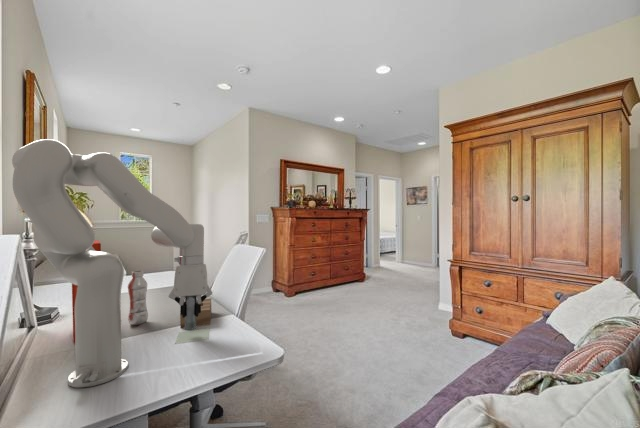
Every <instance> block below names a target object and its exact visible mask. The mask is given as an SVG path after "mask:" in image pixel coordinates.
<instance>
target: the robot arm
mask: <svg viewBox="0 0 640 428" xmlns="http://www.w3.org/2000/svg"><path fill="white" fill-rule="evenodd" d="M11 163H12V166H13V168H14V169H13V174H12V191H13V194H14V197H15V199H16V201H17V203H18V205H19V206H20V208H21V209H22V211H23V212H24V214H25V215H26V216H27V217H28V218H29V220H30V221H31V223H32V224H33V226H35V228H34V231H33V240H34V244H35V246H36V247H37V248H38V250H39V251H40V252H41V253H42V255H43V256H44V257H45V258H46V259H47V260H48V262H49V263H50V265H52V267H54V269H55V270H56V271H57V272H58V273H59V274H60V276H61V277H62V278H63V279H64V280H65V281H66V282H68V283H70V284H71V285H72V284H75V285H78V289H77V295H76V300H75V343H74V345H75V346H74V347H75V348H74V350H75V353H74V354H75V370H74V371H72V372H71V373H70V374H69V375H68V377H67V381H66V382H67V385H68V386H69V387H72V388H79V389H80V388H90V387H94V386H98V385H101V384H104V383H108V382H110V381H112V380H114V379H117V378H118V377H120V376H122V374H123V373H125V372H126V371H127V370H128V368H129V361H128V360H127V359H125V358H122V308H121V304H122V302H121V301H122V287H123V282H124V273H125V272H124V265H123V263H122V261H121V260H120V258H119V257H117V256H116V255H115V254H112V253H110V252H107V251H102V250H101V251H95V250H94V248H93V247H92V245H93V243H94V241H96V240H95V239H96V234H95V230H94V228H93V227H92V225H91V224H90V223H89V222H88V221H87V220H86V217H84V215H83V213H81V211H80V210H79V209H78V207H77V205H75V203H74V202H73V200H72V198H71V197H70V196H69V193H68V192H67V190H66V187H65V186H66V185H72V186H81V187H98V188H99V189H100V191H102V192H103V194H105V195H106V196H107V197H108V198H109V199H110V200H111V202H112V203H115V205H116V206H118V208H119V209H121V210H122V211H123V212H125V214H128V215H130V216H133V217H135V218H138V219H141V220H143V221H146V222H147V223H150V224H151V225H153V226H154V228H153V229H152V231H151V234H150V237H151V240H152V241H153V243H155V244H156V245H157V246H159V247H163V248H164V247H165V248H178V249H179V253H178V254H179V256H178V257H174V262H175V263H178V264H177V265H176V267H175V270H174V271H175V272H174V280H173V281H174V282H173V288H172V290H171V291H170V293H169V294H168V298H170V299H171V300H174V301H175V302H176V303H178V305H179V306H180V311H179V316H180V315H182V318H184V317H185V296H197V304H196V317H198V315H199V313H201V303H202V302H203V301H204V300H205V299H208V298H209V297H210V296H212V295H213V291H212V289H211V287H210V286H209V285H208V270H207V265H206V263H205V261H204V259H205V258H204V257H205V255H204V254H205V253H204V252H205V250H204V249H205V248H204V247H205V227H204V225H203V224H201V223H200V224H199V223H189V222H188V221H187V219H185V218H184V216H183V215H182V214H181V213H180V212H179V211H178V210H177V209H175V208H174V207H173V206H172V205H170V204H168V203H167V202H165V201H164V200H163V199H161V198H159V197H158V196H157V195H154V194H153V193H151V191H149V190H148V189H147V188H146V186H145V185H143V184H142V182H141V181H139V179H138V178H137V177H136V176H135V175H134V174H133V173H132V172H131V171H130V169H128V167H127V166H126V165H125V164H124V163H123V162H122V161H121V160H120V159H119V158H118V157H116V155H113V154H112V153H109V152H104V151H103V152H95V153H90V154H87V155H84V154H77V153H72V152H71V151H70V149H69V148H68V146H66V145H65V144H64V143H62V142H61V141H59V140H55V139H51V138H50V139H49V138H45V139H44V138H43V139H39V140H38V139H37V140H35V141H32V142H29V143H28V144H26V145H23V146H22V147H20V148H19V149H17V150H16V151H15V152H14V153H13V155H12V159H11Z"/></svg>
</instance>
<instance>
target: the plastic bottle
mask: <svg viewBox="0 0 640 428" xmlns="http://www.w3.org/2000/svg"><path fill="white" fill-rule="evenodd" d="M127 291H128V296H129V311H128V318H127V320H128V324H130V325H131V326H139V325H142V324H145V323H146V322H147V321H148V319H149V312H148V308H147V306H148V305H147V293H148V292H147V291H148V282H147V280H145V278H144V270H135V271H134V270H133V271H131V280H130V281H129V283H128V284H127Z"/></svg>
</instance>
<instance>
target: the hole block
mask: <svg viewBox="0 0 640 428" xmlns="http://www.w3.org/2000/svg"><path fill="white" fill-rule="evenodd" d="M179 317H180V318H179V319H180V322H179V323H180V325H179V327H180V329H185V317H184V318H182V315H180V314H179ZM211 319H212V298H209V297H208V298H206V299H205V300H204V301H203V302H202V303H201V313H199V315H198V317H196V327H201V326H210V325H211V321H212V320H211Z"/></svg>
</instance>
